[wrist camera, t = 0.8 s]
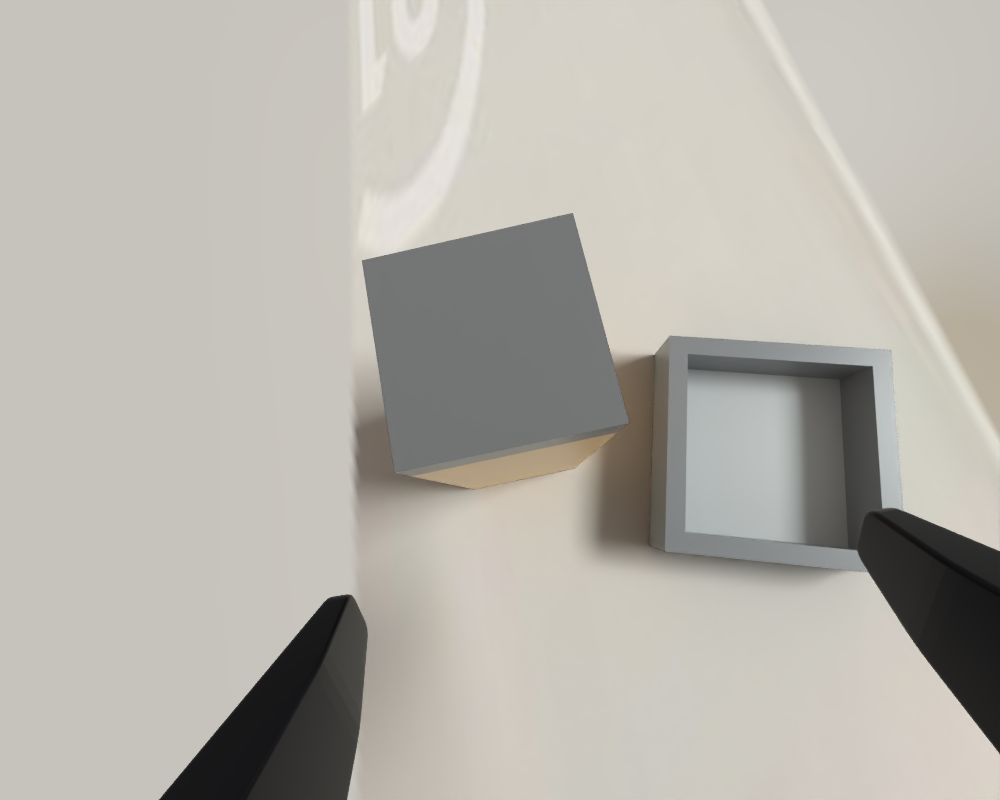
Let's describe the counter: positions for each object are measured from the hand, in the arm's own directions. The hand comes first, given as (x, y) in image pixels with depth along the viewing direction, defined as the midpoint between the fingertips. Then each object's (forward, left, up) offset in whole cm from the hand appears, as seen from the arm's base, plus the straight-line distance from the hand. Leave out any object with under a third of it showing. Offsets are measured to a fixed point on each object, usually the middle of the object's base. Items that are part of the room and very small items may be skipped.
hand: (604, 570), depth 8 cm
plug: (+4, +3, -12) cm, 13 cm away
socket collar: (+5, -7, -12) cm, 15 cm away
